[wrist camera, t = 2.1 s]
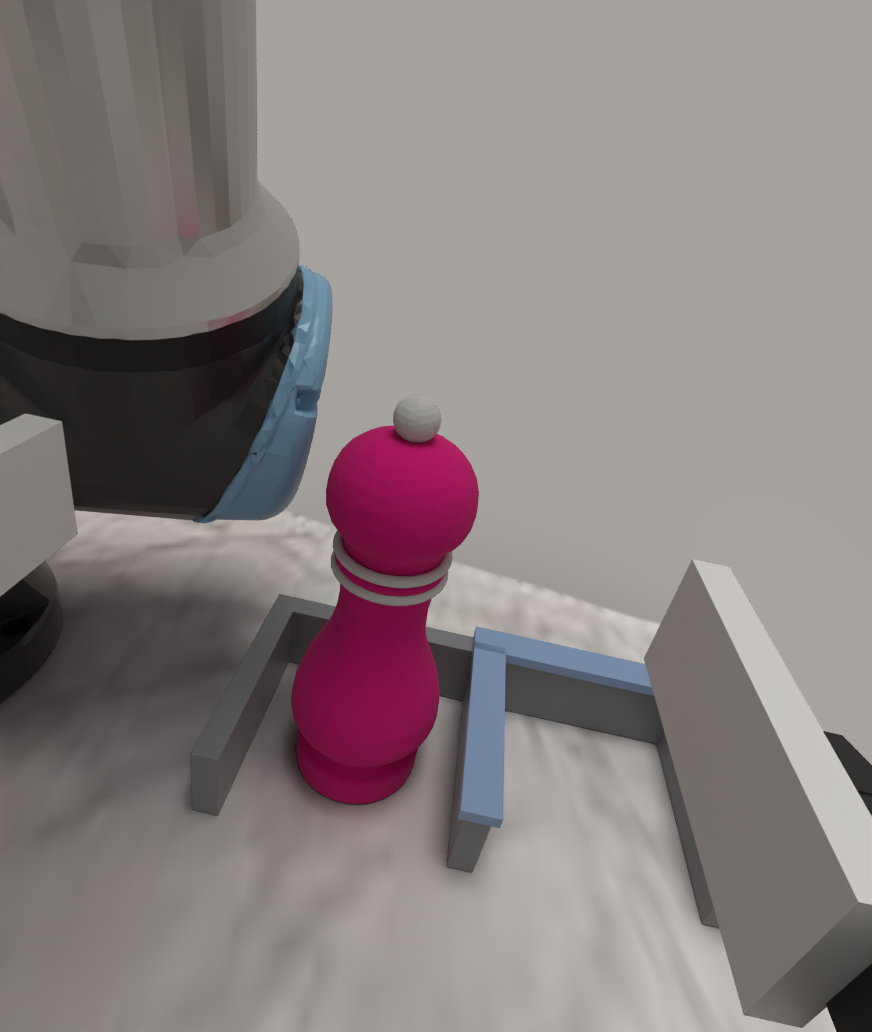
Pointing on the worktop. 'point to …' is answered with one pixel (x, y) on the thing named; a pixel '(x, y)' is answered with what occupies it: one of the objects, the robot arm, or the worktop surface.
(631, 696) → the divider rack
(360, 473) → the pepper mill
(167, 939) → the worktop surface
